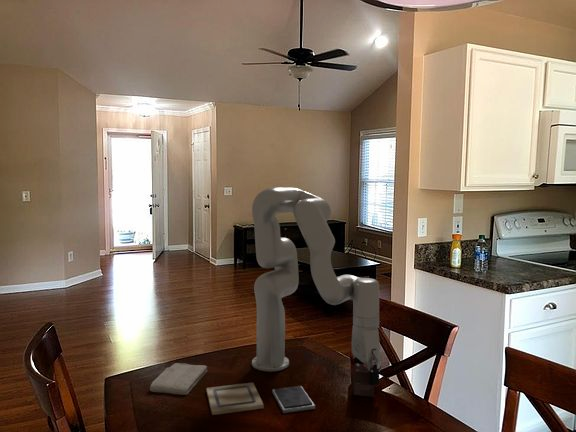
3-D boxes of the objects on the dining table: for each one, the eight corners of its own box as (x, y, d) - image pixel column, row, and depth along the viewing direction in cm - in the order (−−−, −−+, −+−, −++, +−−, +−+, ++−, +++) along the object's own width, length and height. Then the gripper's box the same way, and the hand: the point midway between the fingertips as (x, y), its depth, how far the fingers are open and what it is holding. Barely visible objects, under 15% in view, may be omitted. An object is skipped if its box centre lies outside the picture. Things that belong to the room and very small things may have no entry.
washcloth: (208, 371, 147) (208, 362, 147) (187, 397, 130) (187, 387, 129) (174, 369, 149) (174, 359, 149) (149, 394, 132) (148, 383, 131)
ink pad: (272, 392, 132) (272, 388, 132) (301, 389, 135) (301, 384, 135) (283, 413, 121) (283, 408, 121) (314, 408, 123) (315, 403, 123)
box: (373, 397, 130) (374, 372, 130) (352, 395, 131) (353, 371, 131) (373, 388, 136) (374, 364, 136) (353, 386, 137) (354, 362, 137)
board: (206, 391, 133) (206, 387, 133) (253, 385, 137) (253, 381, 137) (212, 415, 119) (212, 410, 119) (263, 408, 123) (263, 404, 123)
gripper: (342, 314, 139) (342, 368, 140) (367, 331, 123) (367, 392, 124) (364, 311, 141) (364, 365, 143) (392, 328, 125) (392, 388, 126)
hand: (366, 377), depth 133 cm, fingers open, 9 cm apart
